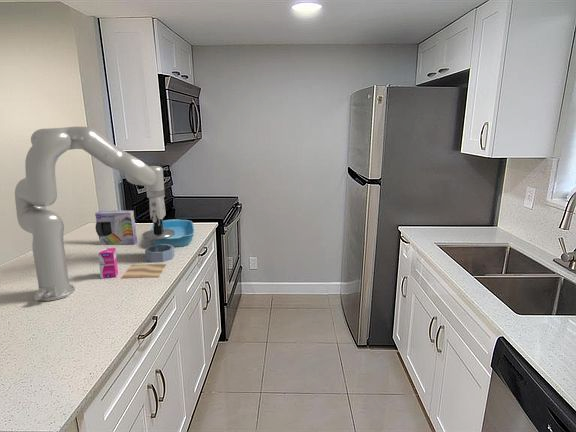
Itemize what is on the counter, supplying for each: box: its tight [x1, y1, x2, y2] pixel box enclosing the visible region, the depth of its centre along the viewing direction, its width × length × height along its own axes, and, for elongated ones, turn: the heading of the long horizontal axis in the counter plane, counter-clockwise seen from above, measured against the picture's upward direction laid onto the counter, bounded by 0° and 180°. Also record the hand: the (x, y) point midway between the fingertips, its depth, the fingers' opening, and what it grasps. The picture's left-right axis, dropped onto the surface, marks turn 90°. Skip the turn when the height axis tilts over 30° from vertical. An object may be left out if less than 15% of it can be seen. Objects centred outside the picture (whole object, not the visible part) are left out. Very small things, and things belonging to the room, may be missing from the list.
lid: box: [142, 223, 175, 240], centre depth 169 cm, size 14×14×5 cm
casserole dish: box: [150, 218, 195, 248], centre depth 201 cm, size 37×22×7 cm, turn 16°
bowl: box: [144, 244, 175, 263], centre depth 172 cm, size 12×12×5 cm
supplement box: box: [97, 247, 119, 280], centre depth 150 cm, size 6×6×12 cm
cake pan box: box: [94, 209, 138, 246], centre depth 191 cm, size 19×5×18 cm, turn 92°
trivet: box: [120, 263, 167, 280], centre depth 157 cm, size 15×15×1 cm
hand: (158, 232), depth 170 cm, fingers closed on lid, 3 cm apart
